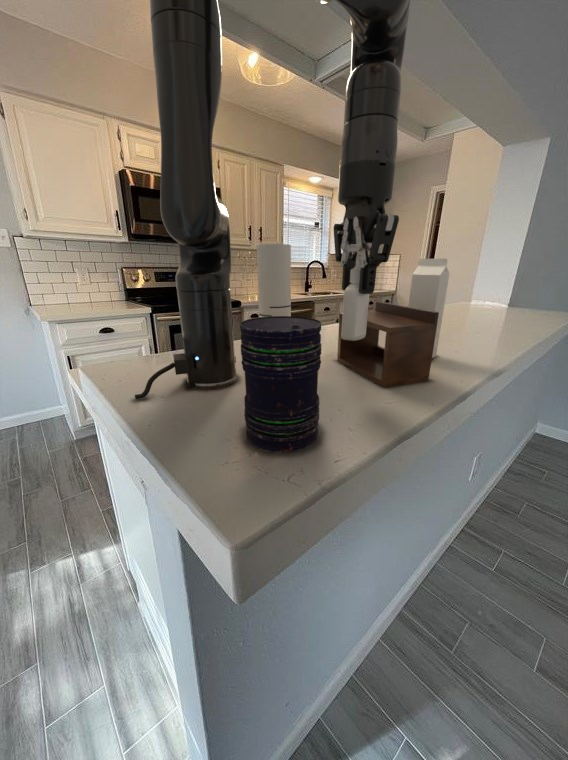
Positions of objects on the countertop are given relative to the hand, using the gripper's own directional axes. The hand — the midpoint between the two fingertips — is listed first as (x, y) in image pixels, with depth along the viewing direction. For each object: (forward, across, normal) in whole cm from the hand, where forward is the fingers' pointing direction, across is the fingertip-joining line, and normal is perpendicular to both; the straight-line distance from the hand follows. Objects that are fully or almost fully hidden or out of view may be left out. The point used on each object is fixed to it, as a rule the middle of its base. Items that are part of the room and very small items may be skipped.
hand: (357, 291), depth 51 cm
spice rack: (+17, -9, +12) cm, 23 cm away
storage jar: (+18, +9, -16) cm, 25 cm away
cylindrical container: (+18, -24, -6) cm, 30 cm away
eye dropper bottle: (+8, 0, 0) cm, 8 cm away
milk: (+17, -14, +27) cm, 35 cm away
